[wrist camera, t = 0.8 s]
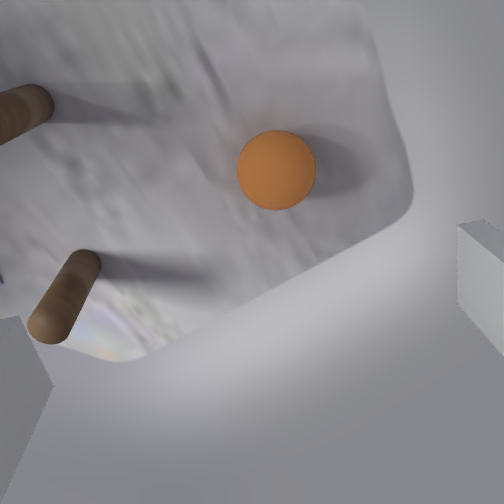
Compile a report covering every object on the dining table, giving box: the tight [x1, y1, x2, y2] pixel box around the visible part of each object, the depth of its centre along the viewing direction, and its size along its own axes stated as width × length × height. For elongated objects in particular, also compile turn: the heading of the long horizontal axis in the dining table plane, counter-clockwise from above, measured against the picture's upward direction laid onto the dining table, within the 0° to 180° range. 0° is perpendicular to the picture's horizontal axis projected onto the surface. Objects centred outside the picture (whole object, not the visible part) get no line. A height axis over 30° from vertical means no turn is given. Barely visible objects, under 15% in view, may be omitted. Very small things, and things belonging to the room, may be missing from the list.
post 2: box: [27, 249, 101, 344], centre depth 34 cm, size 3×3×9 cm
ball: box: [237, 130, 316, 210], centre depth 33 cm, size 6×6×6 cm
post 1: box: [0, 84, 54, 146], centre depth 29 cm, size 3×3×9 cm
